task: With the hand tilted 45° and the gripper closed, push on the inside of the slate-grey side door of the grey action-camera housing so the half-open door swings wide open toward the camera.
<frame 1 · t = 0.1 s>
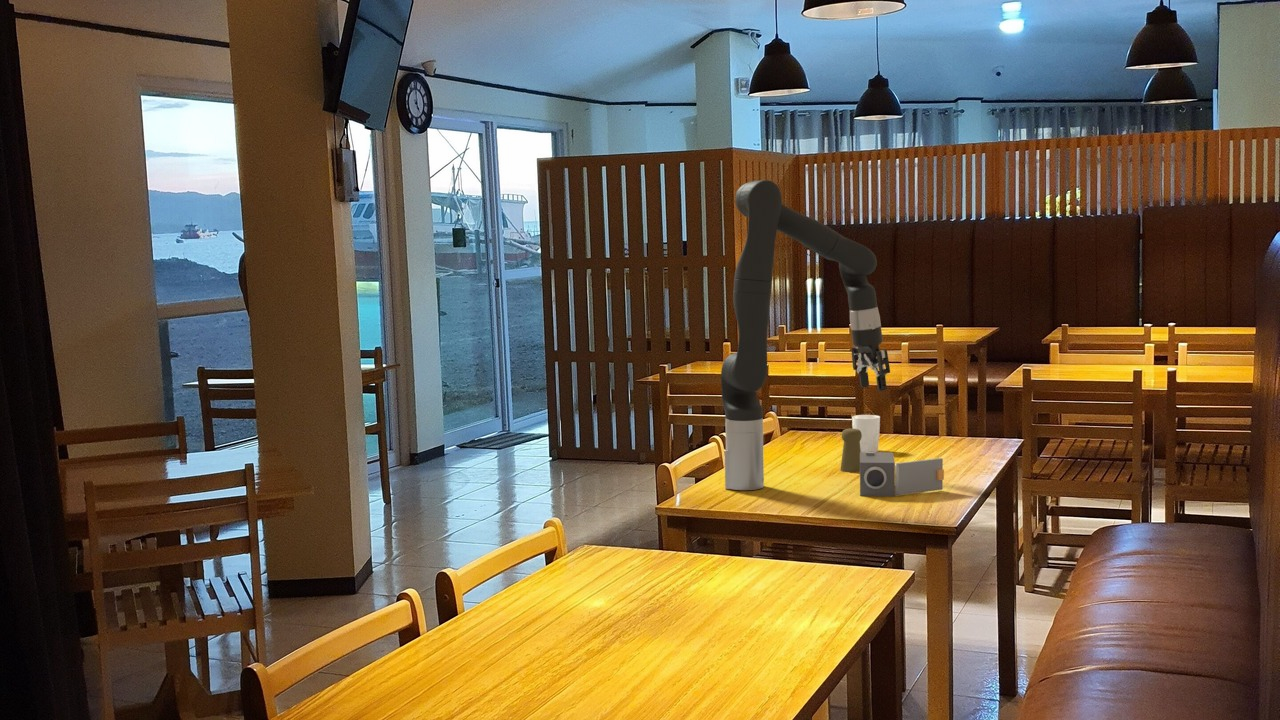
hand: (873, 388, 303), 22 cm above the table, tool pointing down, fingers open, 8 cm apart
camera housing: (876, 490, 287), on the table
white cup: (866, 451, 340), on the table
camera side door: (919, 476, 281), point 4 cm above the table, hinge at 55.0°
cork: (851, 470, 313), on the table
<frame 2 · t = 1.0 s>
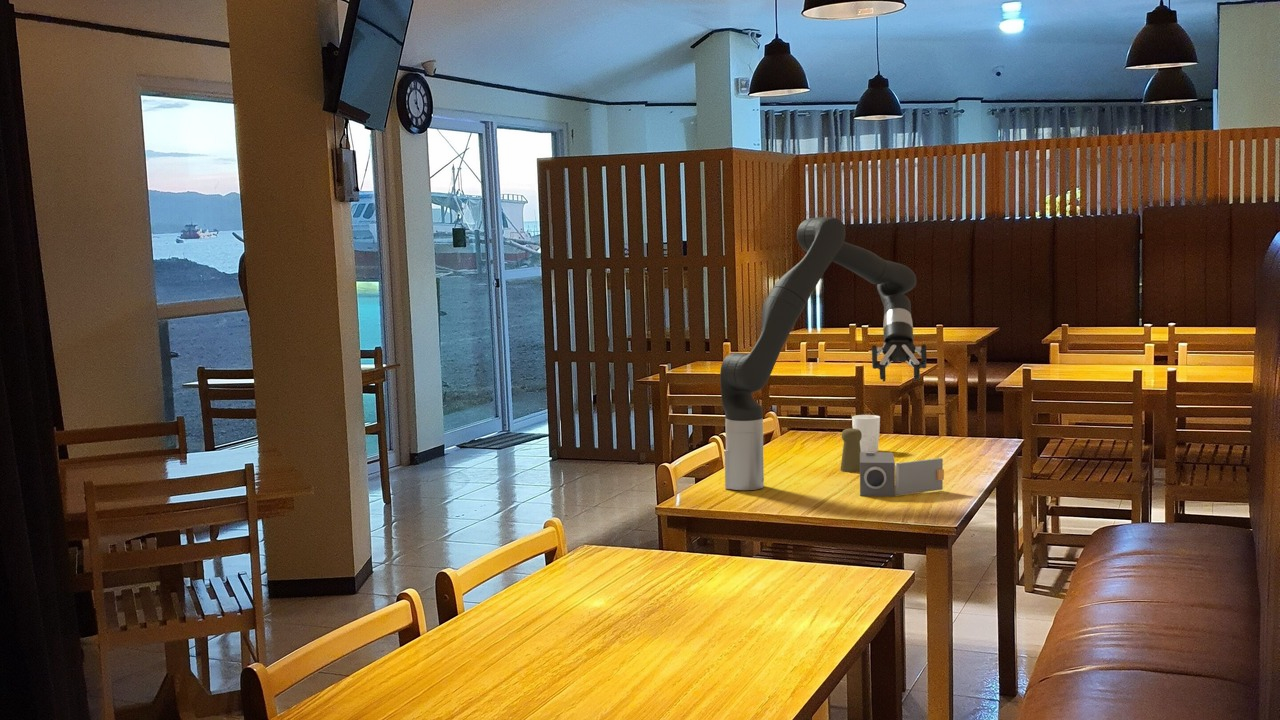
hand: (899, 379, 301), 25 cm above the table, tool tilted 45°, fingers open, 7 cm apart
nothing on the table moved.
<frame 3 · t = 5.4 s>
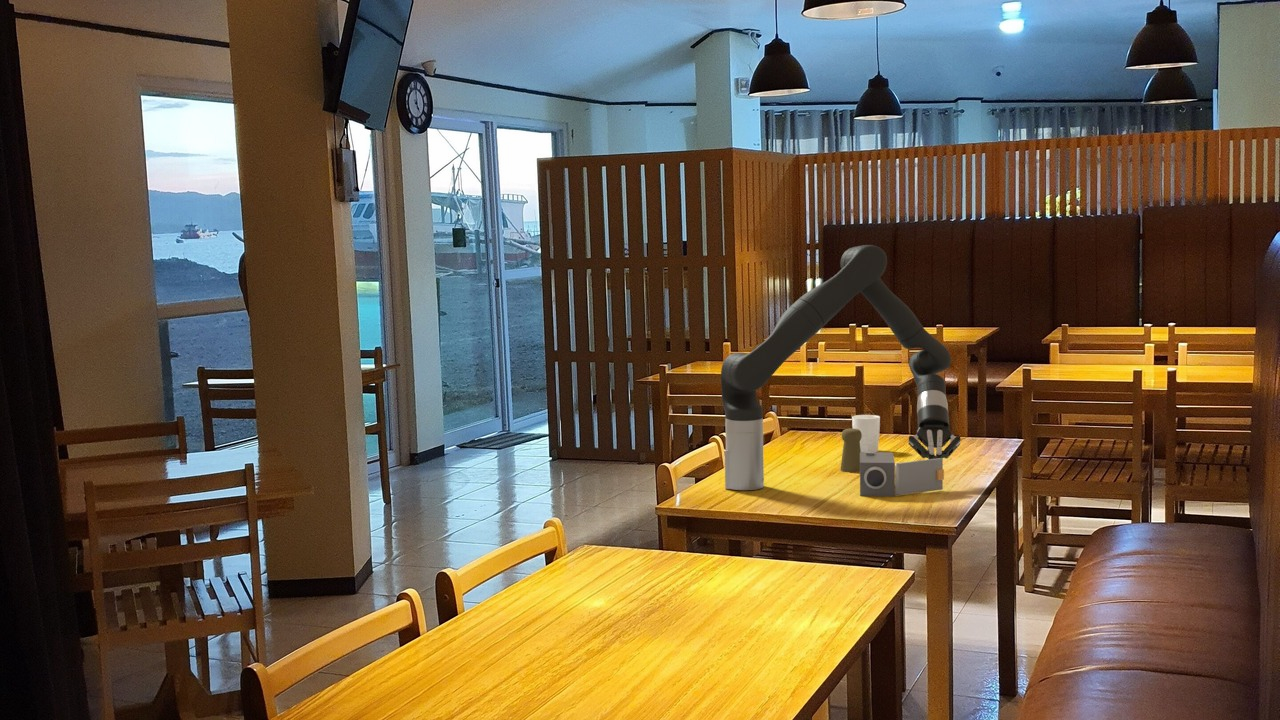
hand: (936, 470, 285), 5 cm above the table, tool tilted 45°, fingers closed
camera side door: (919, 476, 281), point 4 cm above the table, hinge at 55.0°, touching gripper
everything else where it was.
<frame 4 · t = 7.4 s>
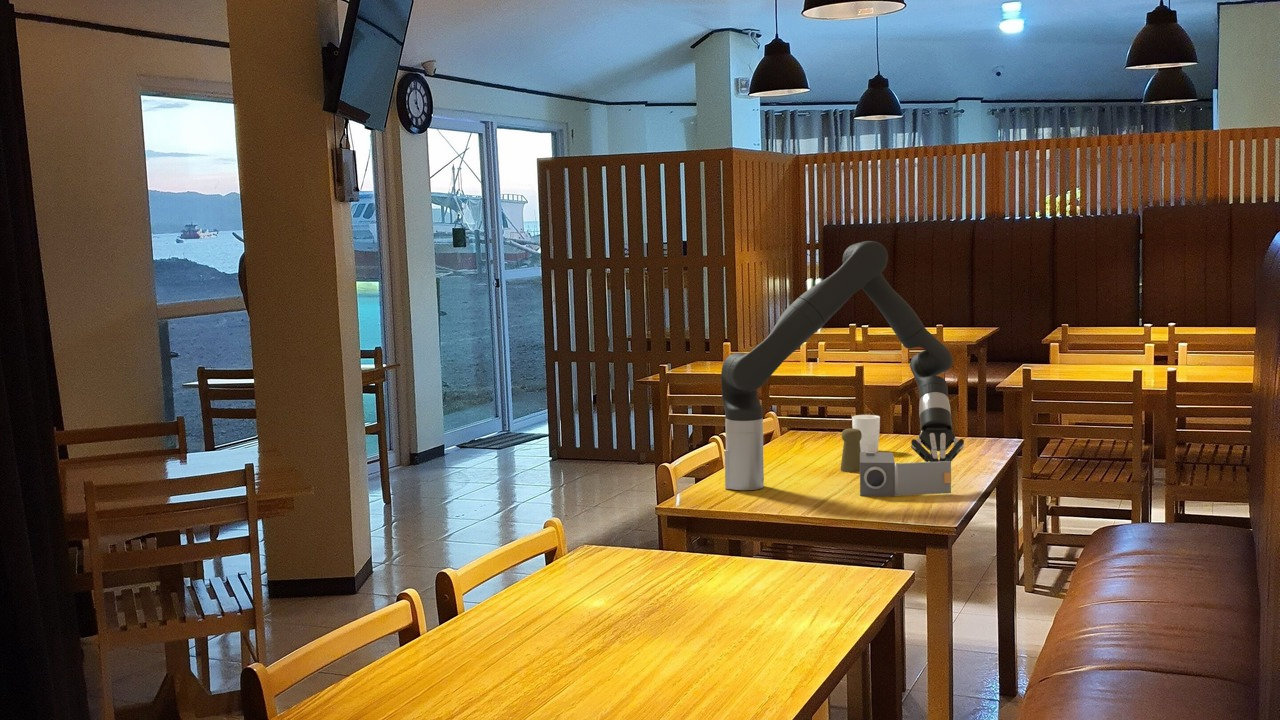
hand: (939, 474, 281), 5 cm above the table, tool tilted 45°, fingers closed
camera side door: (923, 478, 279), point 4 cm above the table, hinge at 74.3°, touching gripper
everything else where it was.
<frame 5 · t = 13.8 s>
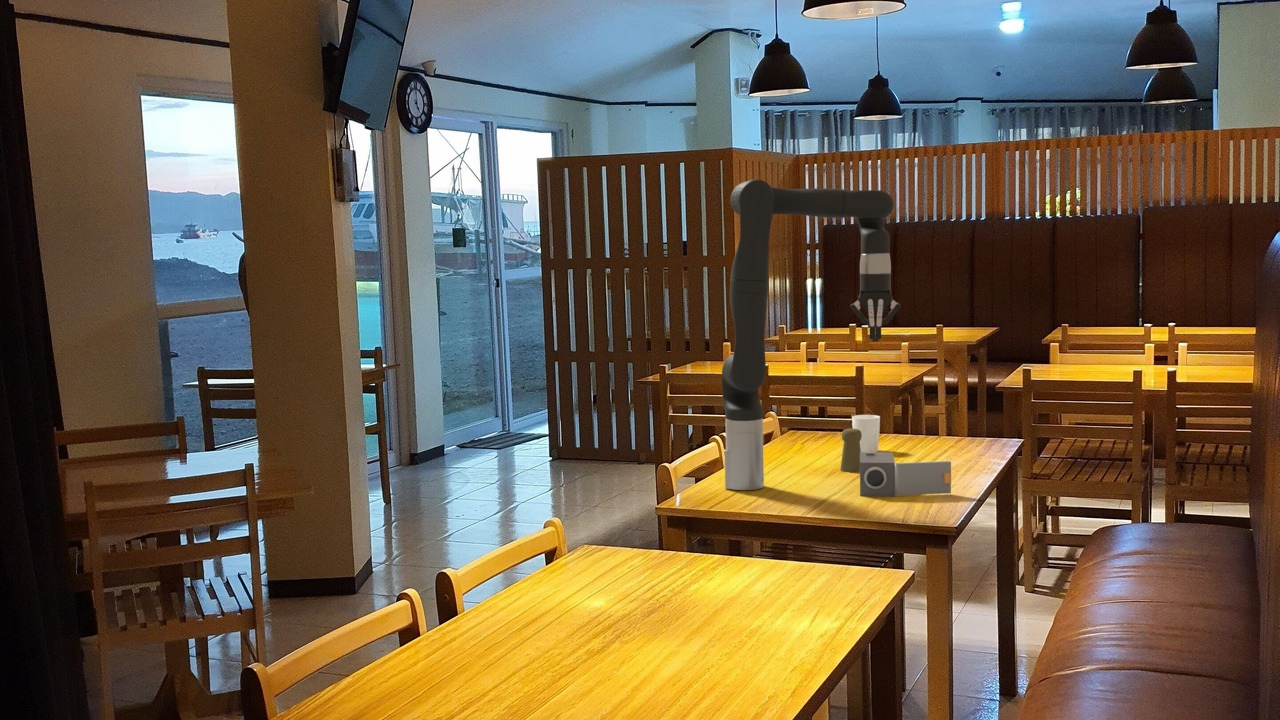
hand: (875, 341, 296), 35 cm above the table, tool pointing down, fingers closed
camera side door: (923, 478, 279), point 4 cm above the table, hinge at 74.4°
everything else where it was.
at the end: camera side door at +74° (first picture: +55°); cork moved 0.2 cm from its start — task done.
